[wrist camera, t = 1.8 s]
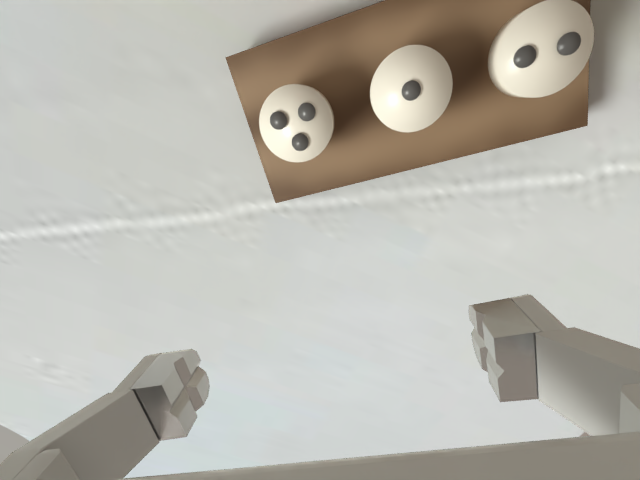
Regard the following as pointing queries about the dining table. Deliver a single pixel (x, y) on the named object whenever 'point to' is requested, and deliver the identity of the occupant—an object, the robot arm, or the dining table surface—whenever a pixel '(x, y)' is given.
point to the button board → (355, 79)
